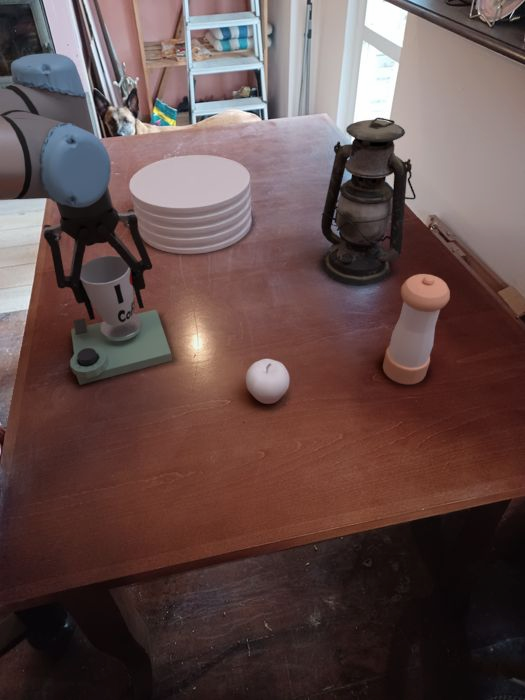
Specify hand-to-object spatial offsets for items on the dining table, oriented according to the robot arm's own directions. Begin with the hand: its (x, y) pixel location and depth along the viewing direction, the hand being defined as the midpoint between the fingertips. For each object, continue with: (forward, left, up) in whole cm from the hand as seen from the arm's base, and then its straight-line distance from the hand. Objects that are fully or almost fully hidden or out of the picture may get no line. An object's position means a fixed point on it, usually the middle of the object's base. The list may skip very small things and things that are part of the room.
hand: (116, 309), depth 83 cm
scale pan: (-2, +1, -4) cm, 5 cm away
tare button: (-6, -6, -5) cm, 10 cm away
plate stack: (+23, +38, -8) cm, 45 cm away
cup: (0, 0, -2) cm, 2 cm away
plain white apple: (+20, -21, -8) cm, 30 cm away
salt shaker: (+44, -24, -8) cm, 51 cm away
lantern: (+53, +8, -8) cm, 54 cm away
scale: (-1, -1, -8) cm, 8 cm away
